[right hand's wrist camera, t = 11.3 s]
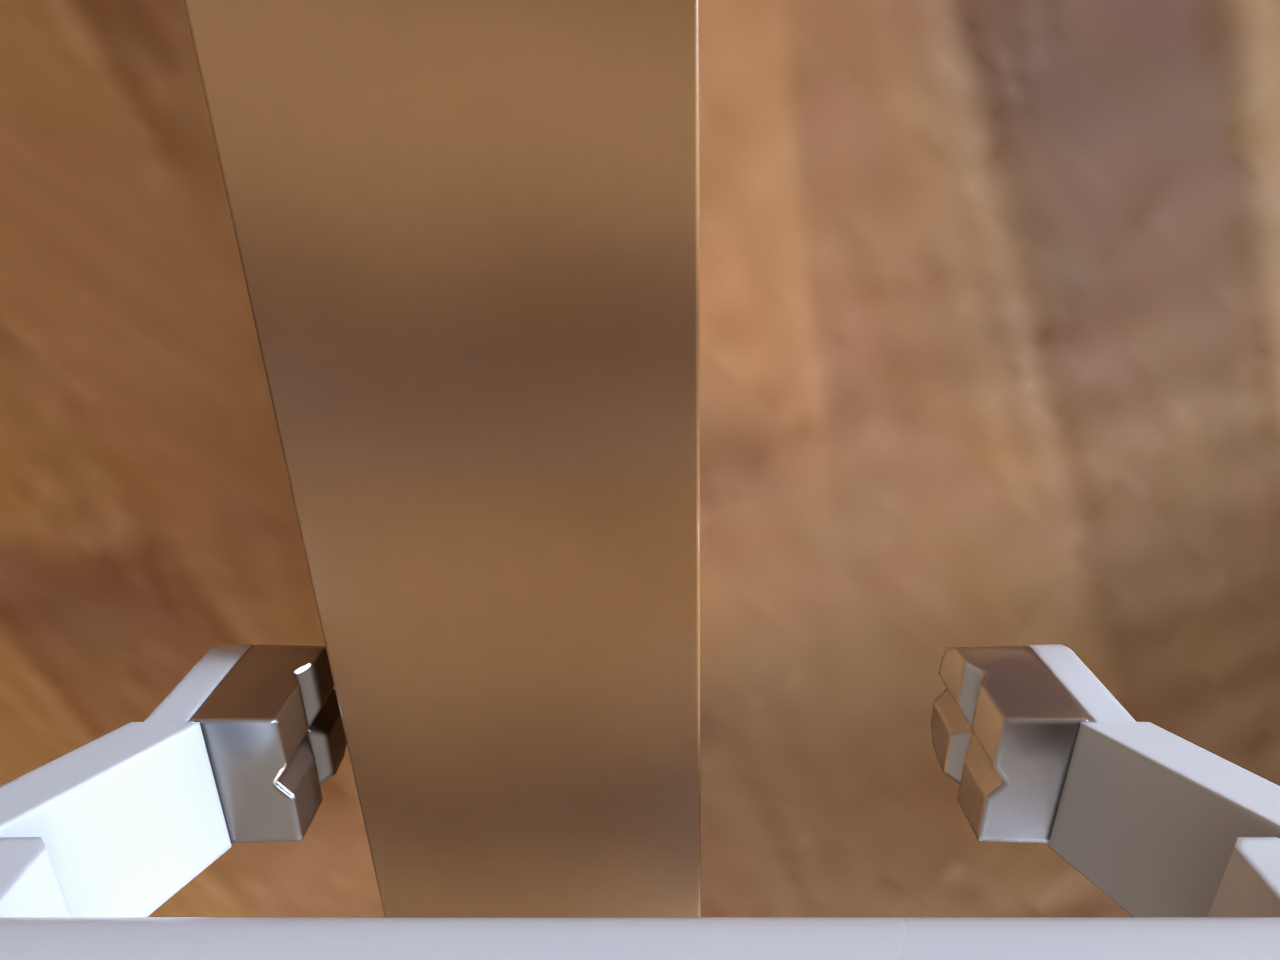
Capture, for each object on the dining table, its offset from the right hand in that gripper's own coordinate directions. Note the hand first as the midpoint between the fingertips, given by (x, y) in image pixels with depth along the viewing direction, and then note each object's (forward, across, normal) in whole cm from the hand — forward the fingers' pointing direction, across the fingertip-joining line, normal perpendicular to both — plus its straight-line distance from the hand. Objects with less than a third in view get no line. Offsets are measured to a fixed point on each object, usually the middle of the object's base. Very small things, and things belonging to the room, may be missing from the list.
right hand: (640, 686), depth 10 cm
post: (+8, +3, -28) cm, 29 cm away
